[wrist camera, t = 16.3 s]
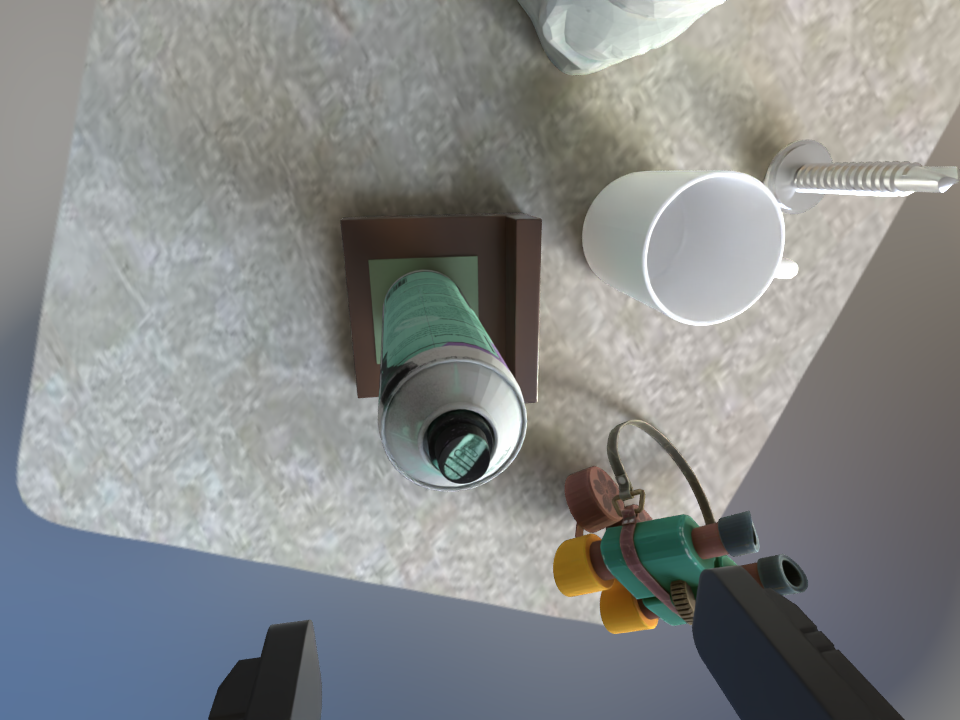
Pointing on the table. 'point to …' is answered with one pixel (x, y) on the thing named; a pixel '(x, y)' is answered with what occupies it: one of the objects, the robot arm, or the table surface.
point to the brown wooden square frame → (464, 259)
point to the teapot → (608, 28)
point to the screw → (845, 177)
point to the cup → (688, 241)
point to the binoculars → (652, 548)
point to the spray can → (444, 388)
